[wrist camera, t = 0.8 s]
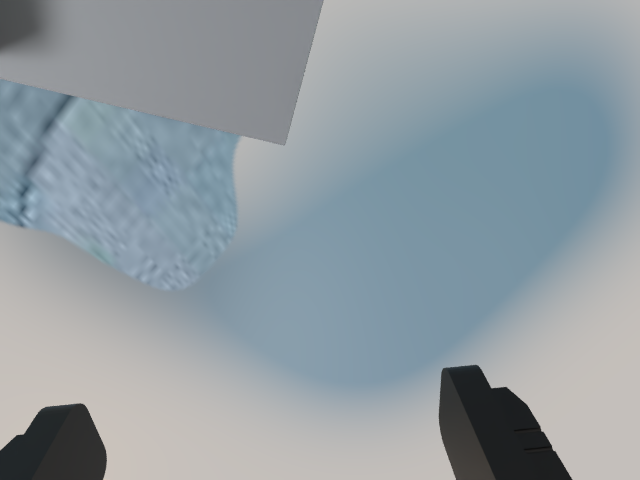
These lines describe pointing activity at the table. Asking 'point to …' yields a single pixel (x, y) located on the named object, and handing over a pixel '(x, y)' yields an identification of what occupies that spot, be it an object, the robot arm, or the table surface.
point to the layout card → (168, 56)
